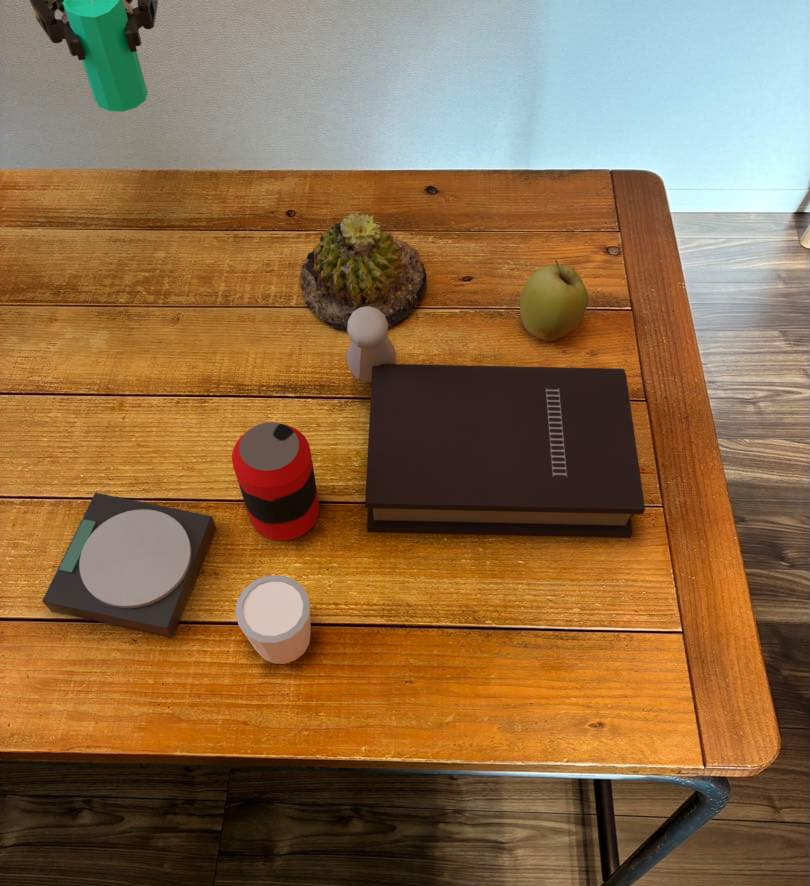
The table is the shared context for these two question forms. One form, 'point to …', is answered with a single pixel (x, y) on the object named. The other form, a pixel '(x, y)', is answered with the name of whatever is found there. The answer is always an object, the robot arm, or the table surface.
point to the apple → (553, 302)
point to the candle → (107, 53)
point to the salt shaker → (368, 342)
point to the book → (501, 451)
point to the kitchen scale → (131, 564)
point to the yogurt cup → (275, 618)
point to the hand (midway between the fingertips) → (105, 46)
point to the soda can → (277, 480)
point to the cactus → (361, 273)
